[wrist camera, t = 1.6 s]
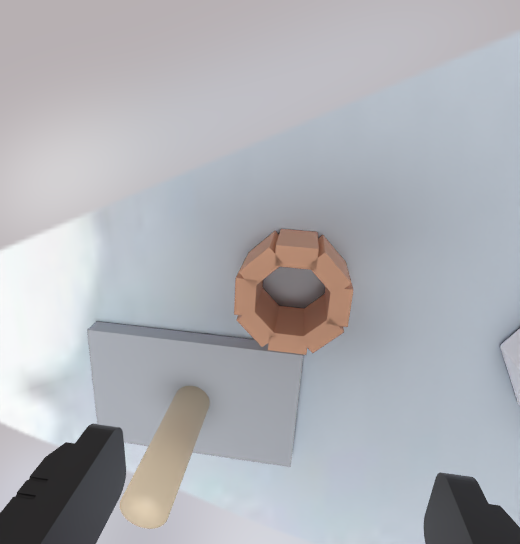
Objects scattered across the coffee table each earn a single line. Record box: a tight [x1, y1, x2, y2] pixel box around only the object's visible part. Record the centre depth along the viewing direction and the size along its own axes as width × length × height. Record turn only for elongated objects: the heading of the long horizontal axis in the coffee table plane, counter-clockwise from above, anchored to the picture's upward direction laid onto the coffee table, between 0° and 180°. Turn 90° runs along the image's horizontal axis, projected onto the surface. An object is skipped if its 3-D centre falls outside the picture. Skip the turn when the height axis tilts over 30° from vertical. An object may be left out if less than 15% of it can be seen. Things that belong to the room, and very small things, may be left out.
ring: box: [234, 229, 353, 355], centre depth 21 cm, size 6×6×4 cm
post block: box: [87, 322, 303, 529], centre depth 22 cm, size 14×9×9 cm, turn 87°
